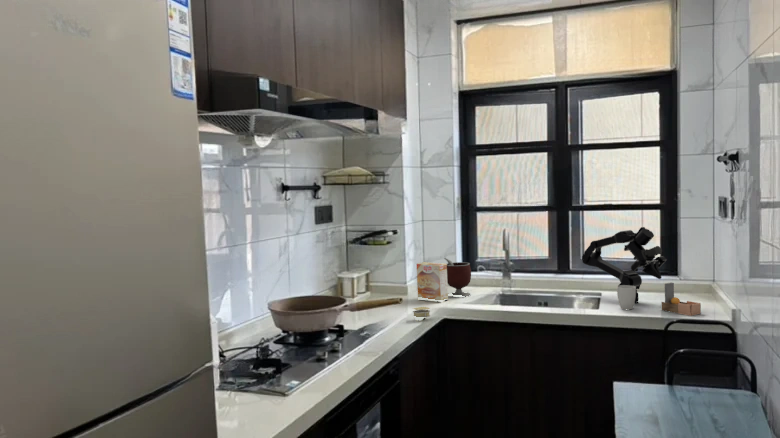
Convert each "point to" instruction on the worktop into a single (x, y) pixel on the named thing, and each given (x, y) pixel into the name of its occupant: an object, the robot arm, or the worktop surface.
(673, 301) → the ball
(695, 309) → the cup
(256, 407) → the worktop surface
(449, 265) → the mate gourd
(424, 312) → the stacked layers on plate
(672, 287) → the plunger
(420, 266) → the coffeecake box
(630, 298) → the cup
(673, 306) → the tray
